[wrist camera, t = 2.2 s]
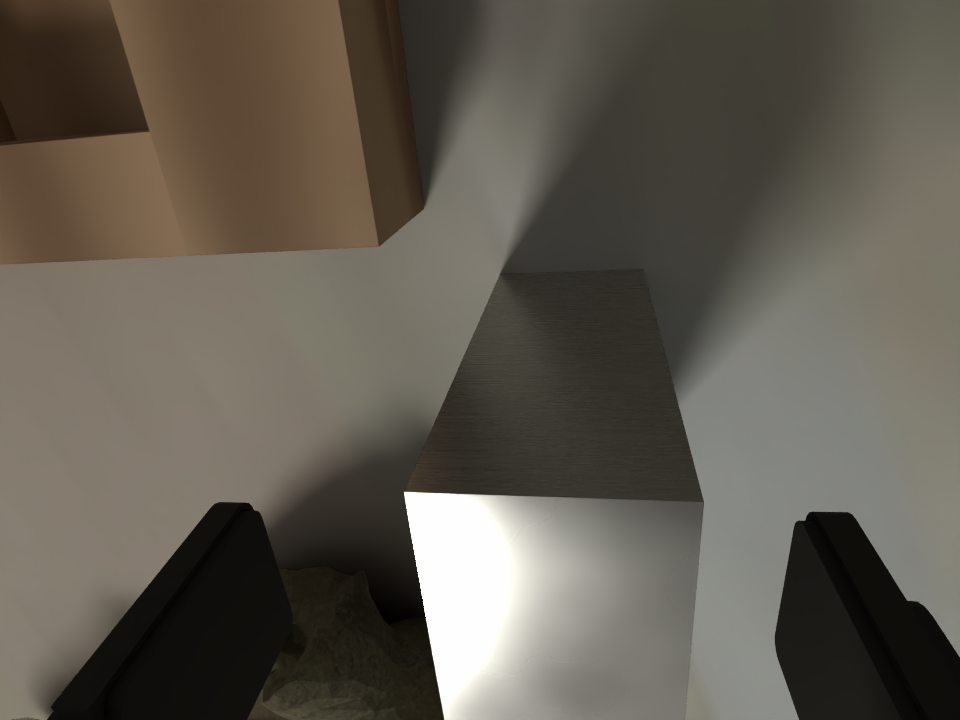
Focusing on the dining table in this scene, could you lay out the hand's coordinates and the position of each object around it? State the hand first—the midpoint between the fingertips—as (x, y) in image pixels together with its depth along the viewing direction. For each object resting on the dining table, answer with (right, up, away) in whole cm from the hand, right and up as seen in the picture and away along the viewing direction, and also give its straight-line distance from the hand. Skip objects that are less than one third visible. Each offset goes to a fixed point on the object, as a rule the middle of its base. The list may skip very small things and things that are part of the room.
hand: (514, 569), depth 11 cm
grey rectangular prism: (+2, +4, +8) cm, 9 cm away
